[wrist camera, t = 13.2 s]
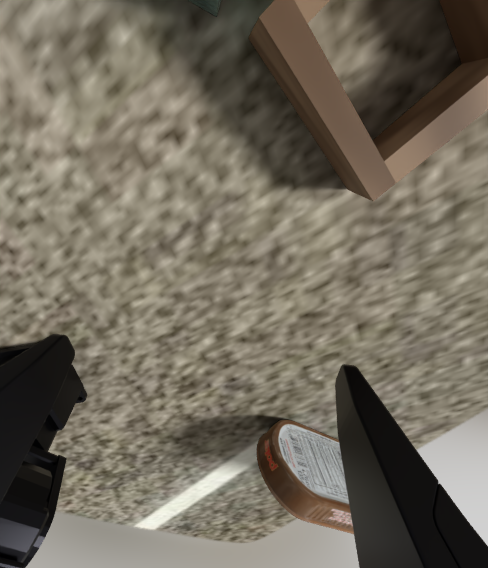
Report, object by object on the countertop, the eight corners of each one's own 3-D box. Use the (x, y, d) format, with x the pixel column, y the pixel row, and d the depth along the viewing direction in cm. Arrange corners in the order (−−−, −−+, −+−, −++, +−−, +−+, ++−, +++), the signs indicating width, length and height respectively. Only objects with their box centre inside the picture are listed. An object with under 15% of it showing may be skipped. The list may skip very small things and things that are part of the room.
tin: (249, 422, 30) (263, 517, 23) (267, 404, 29) (288, 497, 22) (347, 459, 36) (384, 546, 29) (366, 445, 35) (408, 530, 28)
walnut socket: (347, 189, 20) (373, 201, 17) (248, 38, 15) (259, 17, 12) (493, 67, 17) (554, 55, 14) (425, -154, 13) (493, -240, 10)
